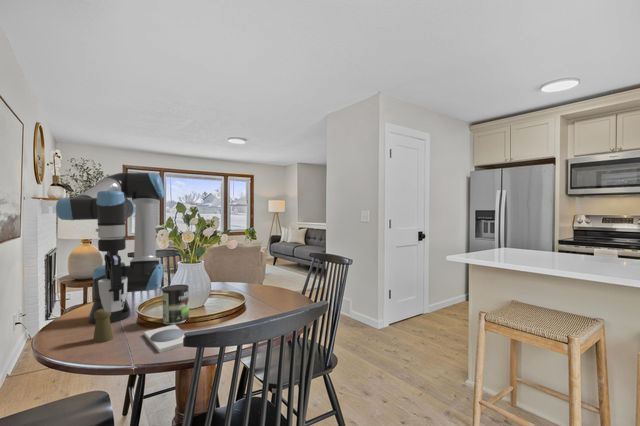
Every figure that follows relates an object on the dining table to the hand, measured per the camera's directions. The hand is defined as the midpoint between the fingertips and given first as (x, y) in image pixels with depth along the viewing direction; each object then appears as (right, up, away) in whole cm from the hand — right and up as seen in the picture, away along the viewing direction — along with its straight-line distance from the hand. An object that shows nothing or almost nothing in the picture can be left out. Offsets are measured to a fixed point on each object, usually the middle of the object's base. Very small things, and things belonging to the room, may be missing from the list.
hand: (113, 307), depth 105 cm
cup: (0, -1, 0) cm, 1 cm away
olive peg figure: (-11, -15, +11) cm, 22 cm away
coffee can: (+7, -15, +30) cm, 34 cm away
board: (+12, -15, +11) cm, 22 cm away
